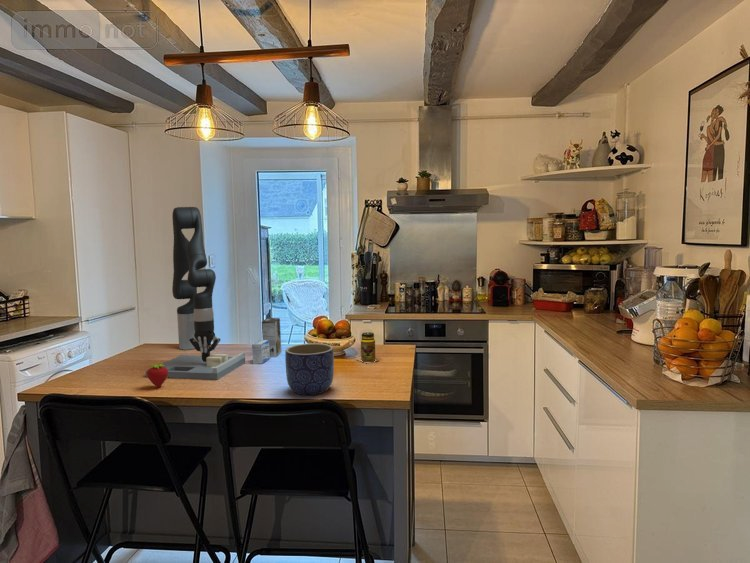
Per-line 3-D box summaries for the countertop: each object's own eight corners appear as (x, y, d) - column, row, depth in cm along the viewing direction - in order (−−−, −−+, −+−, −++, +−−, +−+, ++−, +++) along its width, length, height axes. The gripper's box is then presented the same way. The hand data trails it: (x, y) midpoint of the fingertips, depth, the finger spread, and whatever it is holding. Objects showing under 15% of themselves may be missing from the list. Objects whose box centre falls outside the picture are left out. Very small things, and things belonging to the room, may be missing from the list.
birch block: (214, 362, 199) (214, 354, 198) (228, 362, 197) (227, 354, 197) (206, 366, 193) (206, 357, 192) (220, 366, 192) (220, 358, 191)
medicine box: (262, 364, 204) (261, 344, 203) (252, 364, 205) (251, 343, 204) (270, 359, 212) (269, 340, 211) (260, 359, 212) (259, 339, 212)
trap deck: (181, 360, 212) (180, 350, 211) (245, 362, 206) (244, 352, 206) (145, 377, 188) (145, 365, 188) (217, 379, 183) (216, 368, 182)
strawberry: (153, 384, 179) (152, 357, 178) (172, 385, 177) (171, 358, 176) (143, 389, 173) (142, 362, 172) (163, 390, 172) (161, 362, 171)
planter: (344, 389, 170) (343, 347, 168) (308, 401, 157) (306, 357, 156) (313, 380, 181) (311, 340, 179) (276, 391, 168) (275, 349, 167)
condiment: (365, 364, 201) (365, 335, 200) (354, 360, 208) (354, 332, 207) (380, 361, 205) (379, 333, 204) (369, 357, 212) (368, 330, 211)
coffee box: (267, 352, 225) (266, 317, 223) (281, 352, 224) (280, 317, 223) (262, 357, 215) (261, 321, 214) (277, 357, 215) (275, 321, 214)
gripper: (223, 317, 197) (225, 359, 198) (193, 317, 199) (196, 358, 201) (214, 320, 189) (216, 364, 191) (183, 320, 192) (185, 363, 194)
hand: (206, 361), depth 196 cm, fingers closed
